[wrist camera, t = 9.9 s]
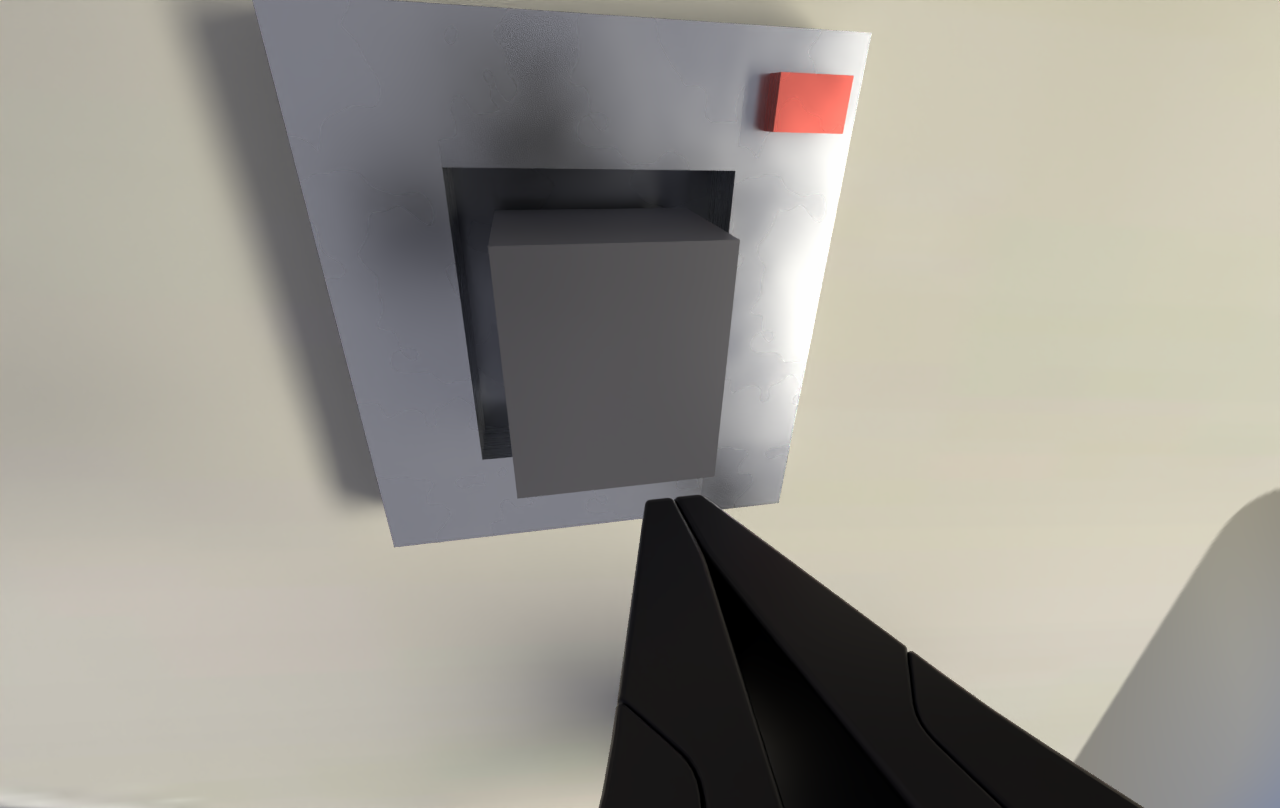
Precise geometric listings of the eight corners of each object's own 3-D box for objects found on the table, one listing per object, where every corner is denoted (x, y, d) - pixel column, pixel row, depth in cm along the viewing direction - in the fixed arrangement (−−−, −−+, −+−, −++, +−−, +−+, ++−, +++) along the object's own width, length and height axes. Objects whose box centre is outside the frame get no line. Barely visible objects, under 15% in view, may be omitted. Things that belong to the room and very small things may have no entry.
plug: (667, 388, 18) (714, 476, 14) (516, 400, 17) (517, 499, 13) (676, 202, 15) (740, 240, 11) (495, 203, 14) (487, 245, 10)
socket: (757, 470, 21) (786, 513, 19) (405, 506, 18) (390, 561, 16) (828, 41, 14) (887, 29, 12) (288, 7, 12) (235, -16, 9)
